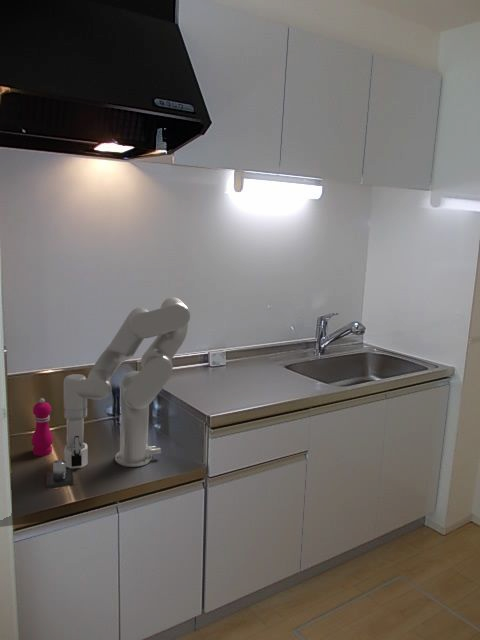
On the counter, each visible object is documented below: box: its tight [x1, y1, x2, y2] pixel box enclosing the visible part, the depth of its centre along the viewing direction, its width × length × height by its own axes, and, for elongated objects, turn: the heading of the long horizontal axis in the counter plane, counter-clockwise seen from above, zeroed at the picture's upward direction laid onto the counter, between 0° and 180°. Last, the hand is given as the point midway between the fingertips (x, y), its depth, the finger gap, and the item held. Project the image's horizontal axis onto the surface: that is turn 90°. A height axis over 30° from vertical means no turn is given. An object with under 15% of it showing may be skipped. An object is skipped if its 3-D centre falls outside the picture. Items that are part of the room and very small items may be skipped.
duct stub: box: [45, 459, 74, 488], centre depth 175 cm, size 8×8×6 cm
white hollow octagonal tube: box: [63, 442, 89, 470], centre depth 187 cm, size 7×7×6 cm
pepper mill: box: [30, 397, 54, 457], centre depth 192 cm, size 7×7×20 cm
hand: (75, 460), depth 187 cm, fingers closed on white hollow octagonal tube, 7 cm apart
